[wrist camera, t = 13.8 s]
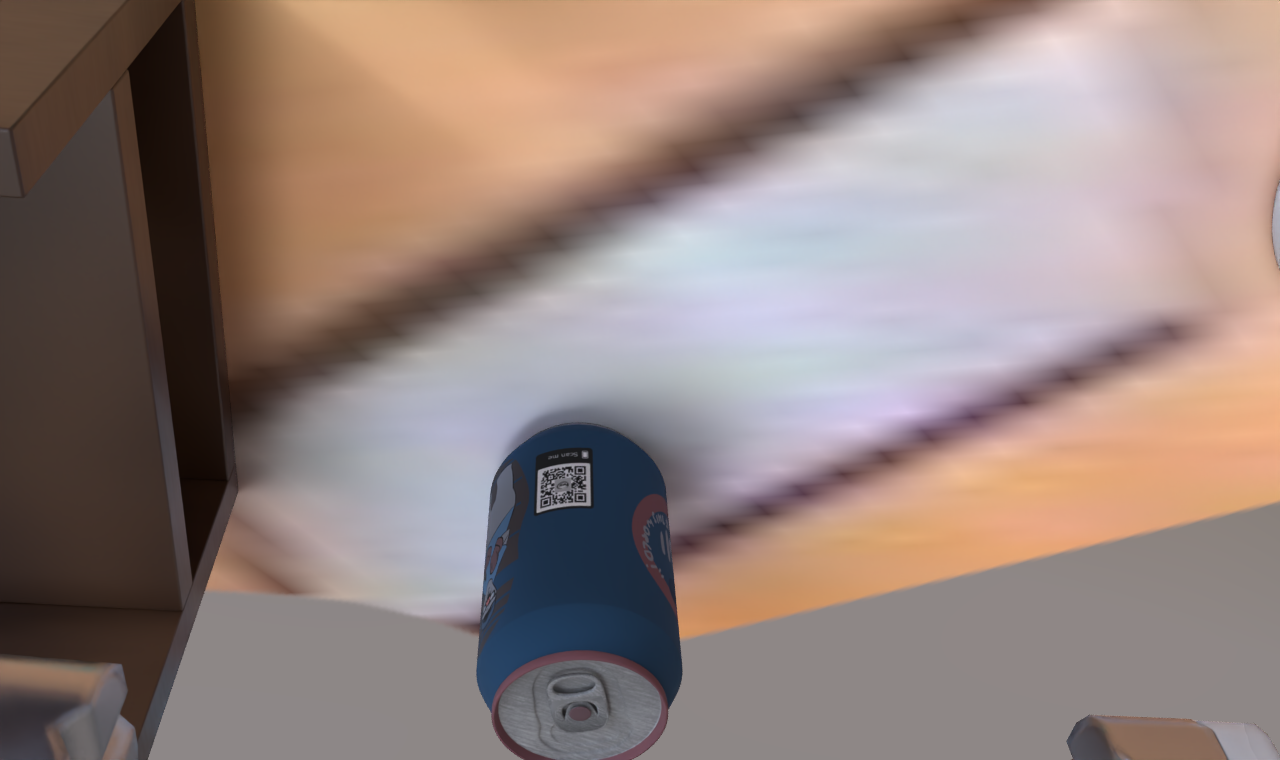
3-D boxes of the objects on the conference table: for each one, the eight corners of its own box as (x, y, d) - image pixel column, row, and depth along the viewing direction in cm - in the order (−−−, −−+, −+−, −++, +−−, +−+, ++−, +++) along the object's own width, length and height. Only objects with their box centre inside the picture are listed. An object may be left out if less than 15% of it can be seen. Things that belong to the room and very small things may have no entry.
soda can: (672, 528, 51) (696, 771, 41) (509, 549, 51) (495, 794, 41) (653, 398, 46) (674, 633, 37) (476, 420, 47) (451, 660, 37)
